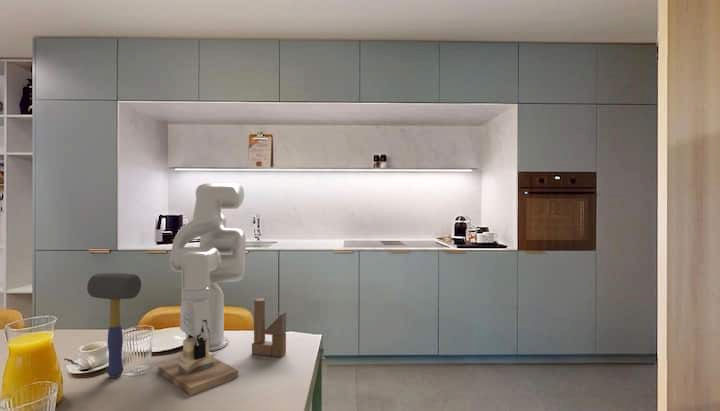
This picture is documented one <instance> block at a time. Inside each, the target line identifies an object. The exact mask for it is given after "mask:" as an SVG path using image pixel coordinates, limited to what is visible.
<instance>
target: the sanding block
mask: <svg viewBox="0 0 720 411" xmlns="http://www.w3.org/2000/svg"><path fill="white" fill-rule="evenodd" d="M201 337H202V336H200V337H199V339H200V338H201ZM194 346H195V337H191V338H188V339H186V338H184V339H182V348H183V349H182V355H180V356H178V360H179V370H180V371H182V372H183V373H184V374H186V375H187V374H190V373H193V372H196V371H199V370H202V369H205V368H208V367H211V366H213V357H214V353H213V352H211V351H209V339H208V340H207V341H206V356H205V357H203V358H200V359H197V360H195V359H194Z"/></svg>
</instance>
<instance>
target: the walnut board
mask: <svg viewBox="0 0 720 411" xmlns="http://www.w3.org/2000/svg"><path fill="white" fill-rule="evenodd" d="M157 371H158V374H159V375H161V377H164V378H165V379H166V380H168V381H169V382H170V383H172V384H174V385H175V386H176V387H178V388H179V389H180V390H182V391H184V392H185V393H187V394H188V395H189V396H193V395H195V394H198V393H201V392H203V391H206V390H208V389H212V388H213V387H214V388H215V387H216V386H219V385H221V384H223V383H226V382H230V381H231V380H234V379H237V378H239V370H238V369H236V368H235V367H232V366H231V365H229V364H227V363H225V362H223V361H221V360H219V359H218V358H216V357H214V356H213V366H211V367H208V368H205V369H202V370H199V371H196V372H193V373H190V374H187V375H186V374H184V373H183V372H182V371H180V370H179V359H177V360H174V361H171V362H167V363H164V364H160V365H158V367H157Z"/></svg>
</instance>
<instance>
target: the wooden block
mask: <svg viewBox="0 0 720 411" xmlns="http://www.w3.org/2000/svg"><path fill="white" fill-rule="evenodd" d="M266 335H271V341H268V340H266ZM286 339H287V311H284V312H283V313H281V314H280V315H279V316H278V317H277V318H276V319H275V320H274V321H273V322H272V323H271V324H270V325H269V326H268V327H267V328H266V299H265V298H262V297H261V298H255V299H254V300H253V343H251V355H256V356H267V357H273V358H274V357H277V358H283V357H284V356H285V355H286V354H287V340H286Z"/></svg>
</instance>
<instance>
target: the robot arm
mask: <svg viewBox="0 0 720 411" xmlns="http://www.w3.org/2000/svg"><path fill="white" fill-rule="evenodd" d="M244 199H245V191H244V186H242V184H240V183H229V182H228V183H224V182H223V183H222V182H221V183H219V182H218V183H217V182H216V183H215V182H212V183H211V182H210V183H209V182H208V183H202V184H200V185H198V186H197V187H196V190H195V204H194V208H193V209H194V210H193V216H192V220H190V221H188V222H187V223H186V224H185V225H184V226H183V227H181V228H180V230H179V231H178V232H177V233H176V234H175V236H174V238H173V241H172V246H171V251H170V258H169V265H170V268H171V269H172V270H173V271H174V272H178V273H181V304H180V312H179V313H180V316H179V329H180V330H181V331H182V332H184V333H185V335H186V336H185V339H188V338H191V337H195V346H194V359H195V360H197V359H200V358H203V357H205V356H206V341H207V340H208V339H209V352H211V351H212V352H213V351H217V350H220V349H222V348H225V347H227V346H228V344H229V338H228V337H227V336H225V330H224V329H225V327H224V326H225V318H224V317H225V315H224V314H225V310H224V309H225V308H224V307H225V305H224V302H225V300H224V299H225V296H224V292H223V290H222V288H221V287H220V286H219V285H218V283H230V282H232V283H233V282H240V281H242V280H243V278H244V275H245V271H246V270H245V269H246V251H247V250H246V247H247V246H246V245H247V244H246V243H247V242H246V241H247V240H246V234H245V232H244V231H243V230H242V229H240V228H231V227H230V228H229V227H228V228H227V218H226V217H225V215H224V213H222V209H223V210H225V209H226V210H227V209H228V210H231V209H232V210H233V209H239V208H240V206H241V205H243V201H244ZM198 237H199V246H186V245H187V244H189V242H191V241H192V240H194V239H197V238H198ZM200 336H202V337H201V338H200V339H199V337H200Z"/></svg>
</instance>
